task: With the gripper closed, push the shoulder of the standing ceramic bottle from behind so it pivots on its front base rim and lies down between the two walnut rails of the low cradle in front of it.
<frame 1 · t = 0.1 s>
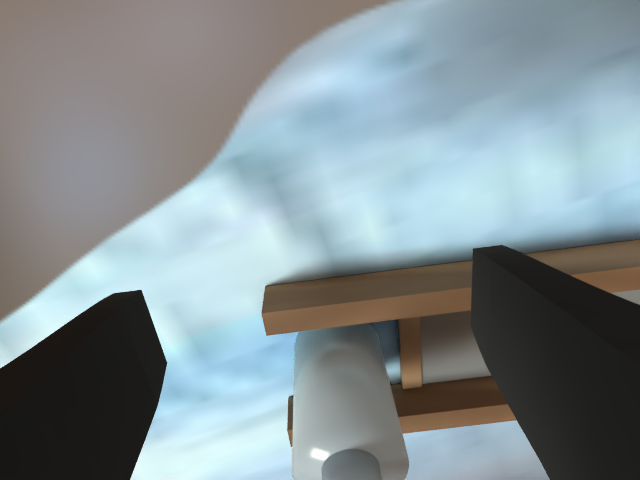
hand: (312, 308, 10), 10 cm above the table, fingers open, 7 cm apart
cradle: (472, 331, 23), on the table
bottle: (337, 347, 23), on the table
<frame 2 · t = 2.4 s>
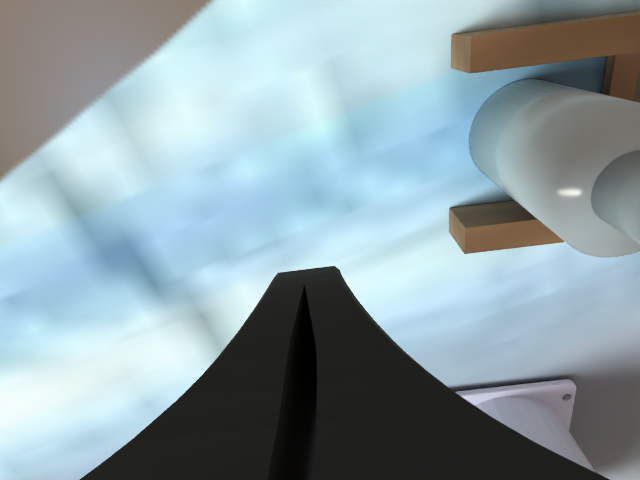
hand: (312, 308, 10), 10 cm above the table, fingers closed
bottle: (520, 133, 19), on the table
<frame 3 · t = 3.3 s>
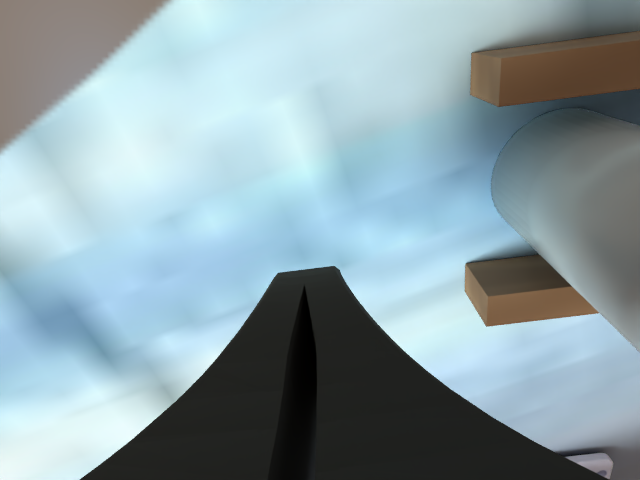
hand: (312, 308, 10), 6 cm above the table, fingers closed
bottle: (556, 175, 15), on the table
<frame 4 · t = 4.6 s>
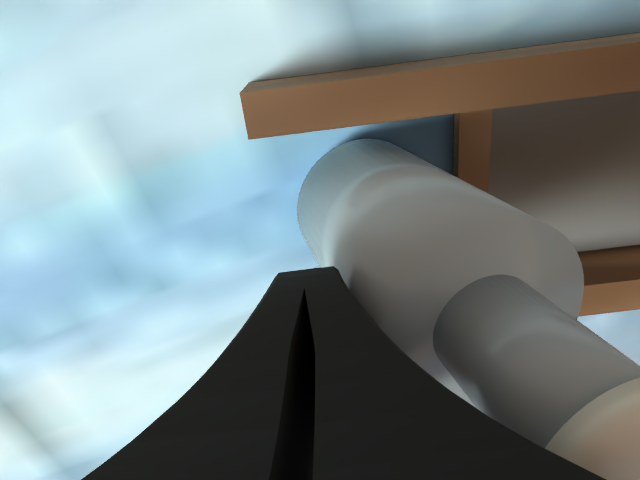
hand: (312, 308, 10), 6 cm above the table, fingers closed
cradle: (565, 175, 15), on the table
bottle: (362, 205, 15), on the table, tilted 13°
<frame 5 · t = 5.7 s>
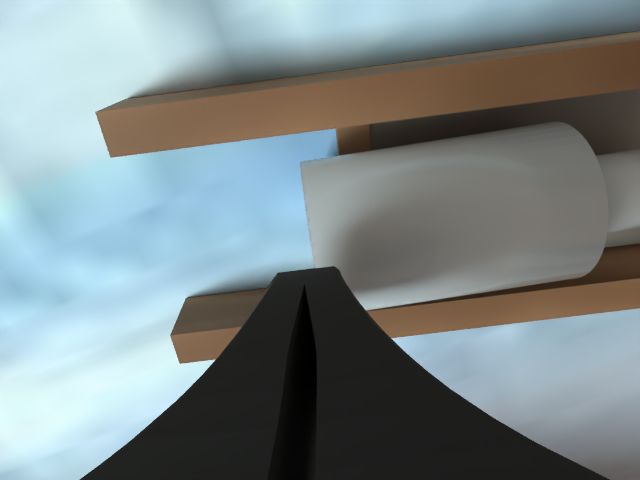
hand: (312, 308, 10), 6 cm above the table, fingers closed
cradle: (455, 188, 15), on the table
bottle: (312, 239, 13), point 3 cm above the table, tilted 91°, touching cradle
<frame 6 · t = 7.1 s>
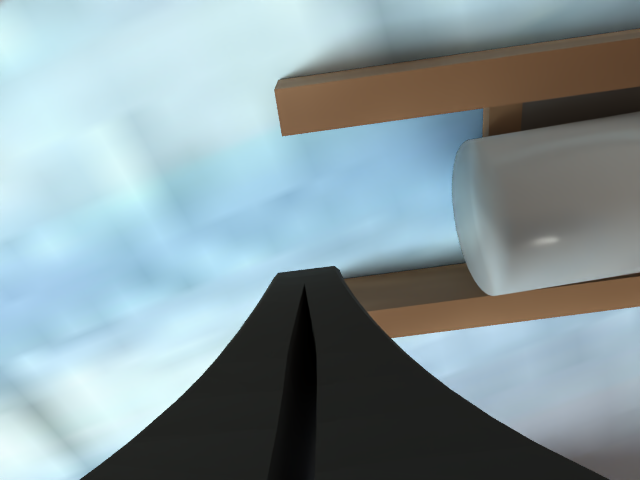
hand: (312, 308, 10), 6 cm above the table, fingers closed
cradle: (594, 168, 15), on the table
bottle: (477, 218, 13), point 3 cm above the table, tilted 91°, touching cradle
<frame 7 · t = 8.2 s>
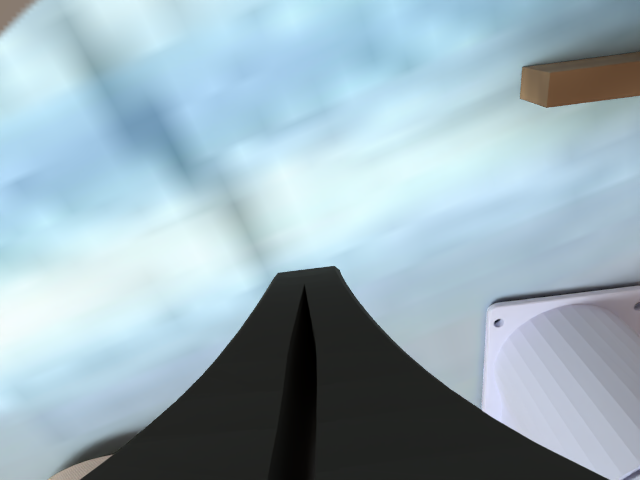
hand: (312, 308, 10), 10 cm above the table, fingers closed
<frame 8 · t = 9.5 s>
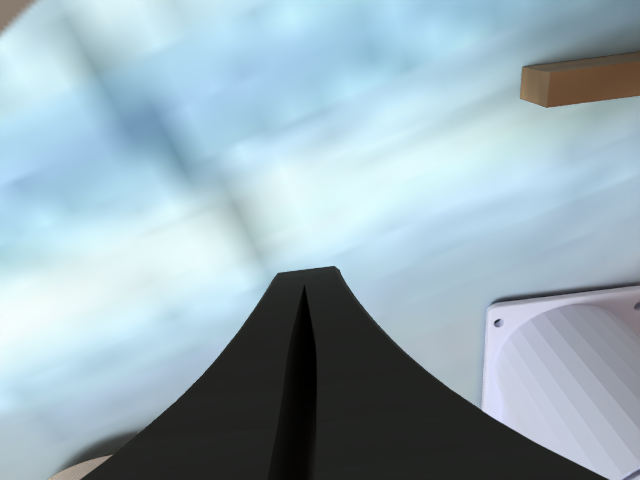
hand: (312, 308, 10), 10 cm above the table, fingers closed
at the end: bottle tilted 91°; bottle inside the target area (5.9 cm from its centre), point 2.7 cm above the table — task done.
